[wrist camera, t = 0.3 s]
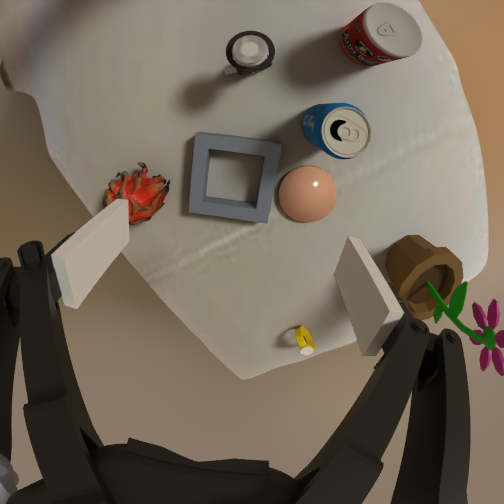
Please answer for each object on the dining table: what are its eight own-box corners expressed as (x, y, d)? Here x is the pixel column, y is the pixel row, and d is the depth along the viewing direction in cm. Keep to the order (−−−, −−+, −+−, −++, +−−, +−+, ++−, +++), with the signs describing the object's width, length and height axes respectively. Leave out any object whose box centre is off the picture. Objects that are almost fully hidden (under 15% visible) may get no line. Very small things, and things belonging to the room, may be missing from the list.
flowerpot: (434, 276, 48) (504, 385, 22) (377, 296, 51) (431, 425, 25) (437, 216, 41) (541, 323, 15) (372, 235, 44) (460, 376, 18)
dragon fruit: (115, 193, 43) (176, 170, 43) (120, 238, 42) (185, 217, 41) (89, 176, 34) (158, 147, 34) (92, 228, 33) (167, 201, 33)
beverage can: (305, 99, 33) (324, 95, 23) (347, 110, 34) (380, 113, 23) (296, 140, 37) (312, 153, 26) (338, 150, 37) (367, 168, 27)
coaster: (284, 160, 38) (284, 161, 38) (341, 172, 39) (342, 173, 38) (273, 215, 43) (273, 217, 42) (327, 224, 43) (328, 226, 42)
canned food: (328, 39, 28) (351, 18, 19) (361, 15, 25) (391, -8, 16) (364, 76, 31) (397, 68, 21) (395, 51, 28) (433, 40, 18)
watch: (291, 325, 55) (292, 345, 50) (302, 319, 54) (305, 339, 49) (305, 341, 57) (307, 361, 52) (316, 336, 56) (319, 355, 51)
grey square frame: (199, 132, 36) (195, 133, 34) (280, 143, 37) (282, 145, 35) (192, 206, 42) (188, 212, 40) (266, 217, 43) (267, 223, 41)
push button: (232, 88, 33) (223, 81, 24) (219, 57, 31) (206, 42, 22) (276, 74, 32) (282, 62, 23) (263, 43, 29) (265, 22, 21)
